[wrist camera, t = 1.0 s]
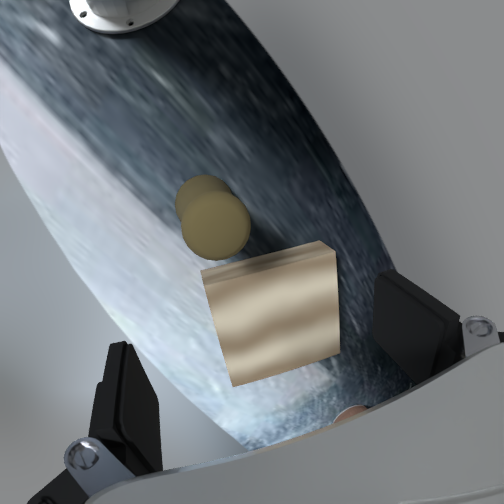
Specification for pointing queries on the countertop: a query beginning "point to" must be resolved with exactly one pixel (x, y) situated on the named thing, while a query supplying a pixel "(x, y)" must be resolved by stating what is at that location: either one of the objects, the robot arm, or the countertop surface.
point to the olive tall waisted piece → (212, 218)
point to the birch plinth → (275, 311)
